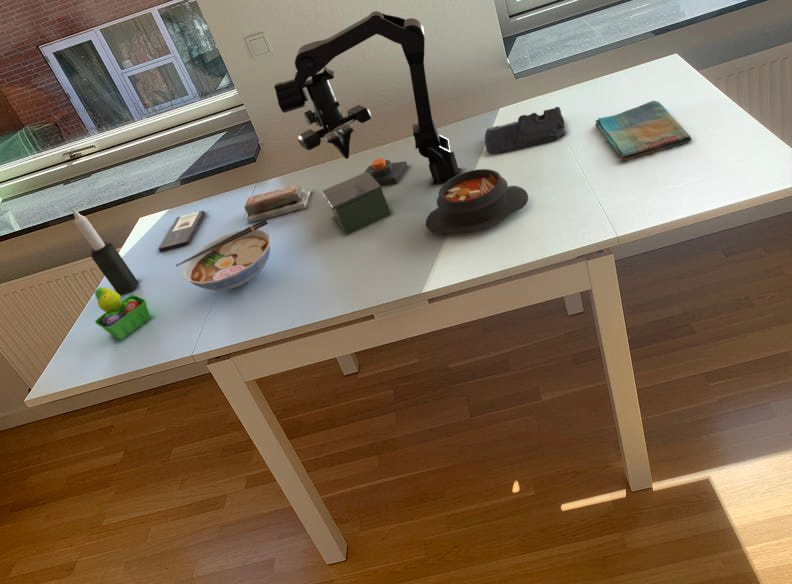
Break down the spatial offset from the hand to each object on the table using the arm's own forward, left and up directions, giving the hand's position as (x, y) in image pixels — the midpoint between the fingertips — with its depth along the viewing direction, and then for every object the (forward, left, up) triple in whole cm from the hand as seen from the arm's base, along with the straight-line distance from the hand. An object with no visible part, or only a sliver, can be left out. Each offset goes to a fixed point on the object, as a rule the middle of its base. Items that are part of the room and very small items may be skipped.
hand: (346, 158), depth 182 cm
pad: (-1, -13, -13) cm, 18 cm away
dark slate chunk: (-39, -28, -13) cm, 49 cm away
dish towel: (-71, -21, -13) cm, 75 cm away
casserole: (-37, +12, -13) cm, 41 cm away
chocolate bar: (+58, +8, -13) cm, 60 cm away
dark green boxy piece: (-3, +8, -13) cm, 15 cm away
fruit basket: (+44, +51, -13) cm, 69 cm away
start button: (-1, -13, -10) cm, 16 cm away
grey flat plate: (-3, +8, -5) cm, 10 cm away
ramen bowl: (+21, +33, -13) cm, 42 cm away
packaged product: (+28, -1, -13) cm, 31 cm away
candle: (+58, +35, -13) cm, 69 cm away
